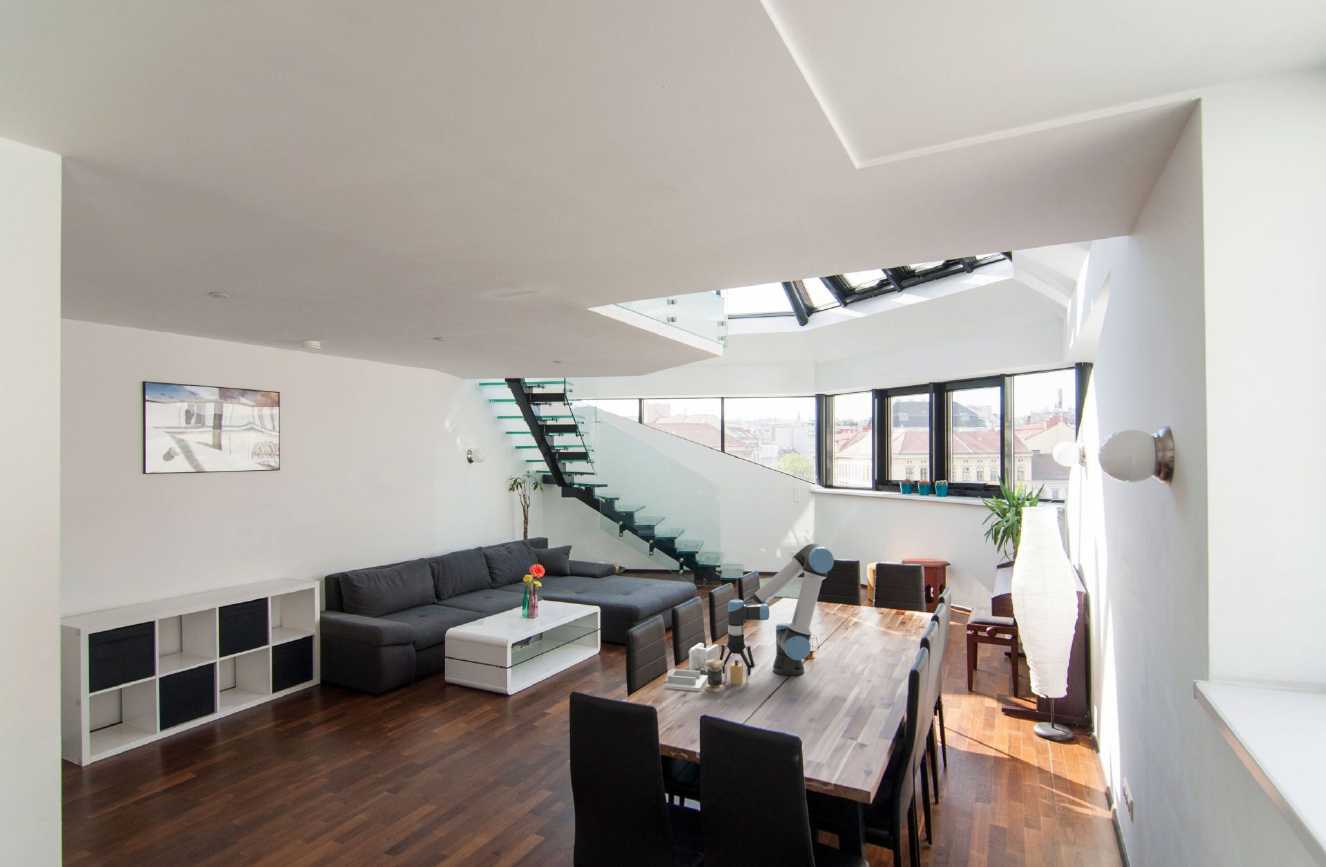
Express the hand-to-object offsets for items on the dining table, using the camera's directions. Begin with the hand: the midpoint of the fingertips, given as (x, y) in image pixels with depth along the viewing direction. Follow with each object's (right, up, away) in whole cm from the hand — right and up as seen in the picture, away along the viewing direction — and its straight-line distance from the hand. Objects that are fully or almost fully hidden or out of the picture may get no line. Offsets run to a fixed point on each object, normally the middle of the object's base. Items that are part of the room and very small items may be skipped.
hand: (736, 681), depth 315 cm
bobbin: (-11, 0, -9) cm, 14 cm away
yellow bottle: (0, 0, 0) cm, 0 cm away
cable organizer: (-14, -1, +19) cm, 24 cm away
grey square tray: (-23, 0, -2) cm, 23 cm away
